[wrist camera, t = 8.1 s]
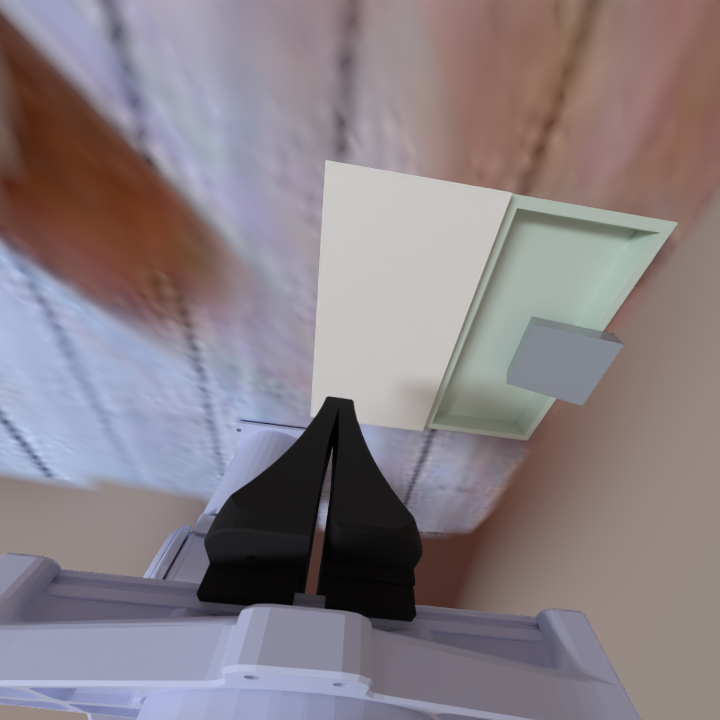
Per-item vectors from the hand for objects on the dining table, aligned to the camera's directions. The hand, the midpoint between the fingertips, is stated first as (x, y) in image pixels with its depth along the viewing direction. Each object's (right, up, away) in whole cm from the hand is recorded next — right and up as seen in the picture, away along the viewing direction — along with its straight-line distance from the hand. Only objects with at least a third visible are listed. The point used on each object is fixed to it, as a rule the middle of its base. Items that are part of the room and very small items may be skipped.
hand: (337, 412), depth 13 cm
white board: (+3, +6, +7) cm, 10 cm away
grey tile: (+15, +2, +5) cm, 16 cm away
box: (+13, +5, +7) cm, 16 cm away
